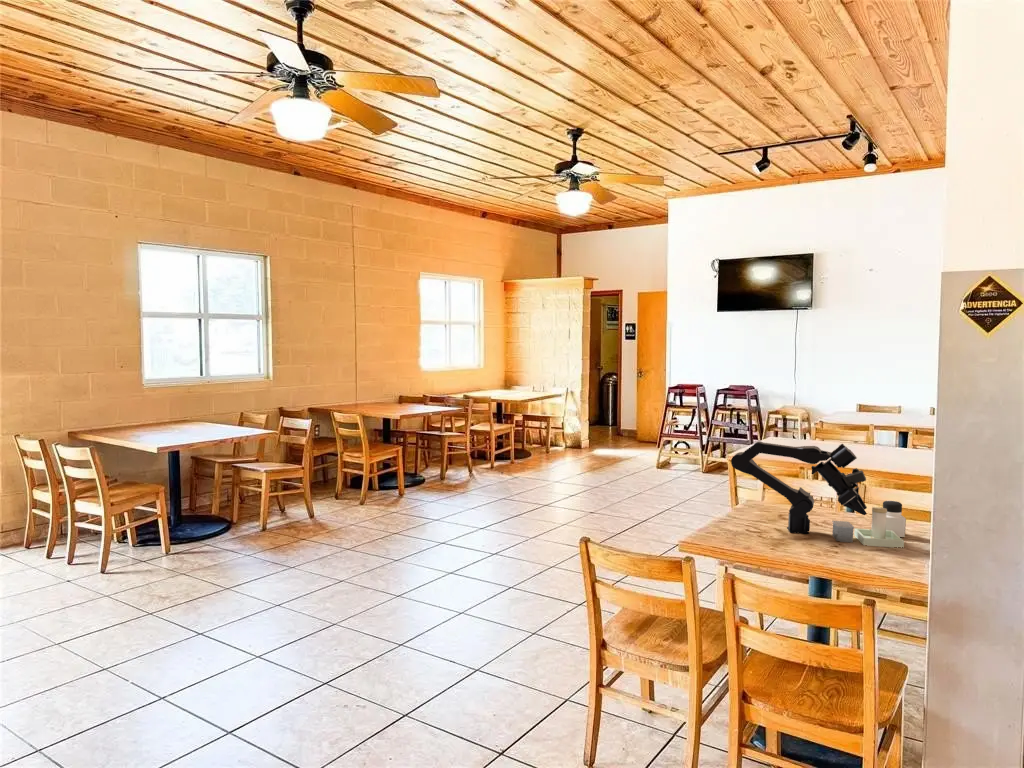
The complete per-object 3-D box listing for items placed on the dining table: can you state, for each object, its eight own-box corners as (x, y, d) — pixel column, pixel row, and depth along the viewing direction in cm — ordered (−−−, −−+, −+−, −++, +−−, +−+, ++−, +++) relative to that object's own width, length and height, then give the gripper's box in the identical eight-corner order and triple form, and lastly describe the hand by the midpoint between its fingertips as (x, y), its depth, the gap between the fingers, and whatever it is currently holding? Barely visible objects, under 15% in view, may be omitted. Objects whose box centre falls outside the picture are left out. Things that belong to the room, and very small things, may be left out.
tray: (863, 545, 241) (864, 538, 241) (854, 535, 253) (854, 528, 253) (903, 548, 239) (904, 540, 239) (892, 537, 251) (892, 530, 251)
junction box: (836, 541, 245) (837, 526, 245) (830, 534, 254) (831, 519, 254) (853, 542, 244) (854, 527, 244) (846, 535, 253) (847, 520, 253)
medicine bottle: (905, 538, 251) (906, 504, 250) (883, 536, 252) (884, 503, 251) (898, 532, 258) (900, 499, 257) (877, 531, 259) (878, 498, 258)
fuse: (877, 542, 243) (878, 510, 243) (867, 538, 248) (868, 507, 247) (888, 541, 244) (890, 509, 244) (879, 537, 249) (880, 506, 248)
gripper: (851, 466, 240) (885, 503, 236) (852, 458, 257) (885, 492, 253) (824, 486, 244) (857, 523, 240) (827, 476, 261) (858, 511, 257)
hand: (865, 511), depth 247 cm, fingers open, 9 cm apart
